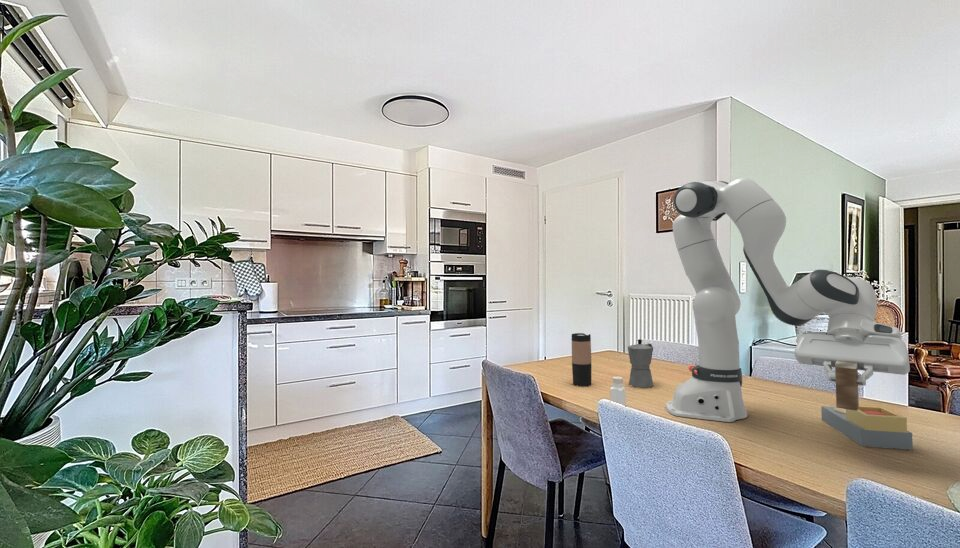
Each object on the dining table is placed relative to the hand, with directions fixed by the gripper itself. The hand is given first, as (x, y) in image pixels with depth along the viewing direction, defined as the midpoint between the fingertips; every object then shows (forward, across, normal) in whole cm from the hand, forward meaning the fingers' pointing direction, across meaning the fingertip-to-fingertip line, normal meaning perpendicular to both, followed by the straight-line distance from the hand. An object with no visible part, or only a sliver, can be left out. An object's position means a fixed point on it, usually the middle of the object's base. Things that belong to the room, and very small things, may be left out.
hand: (846, 381), depth 96 cm
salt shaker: (+11, -58, +15) cm, 61 cm away
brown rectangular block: (+4, 0, +5) cm, 6 cm away
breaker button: (-2, +3, +25) cm, 25 cm away
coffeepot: (-12, -65, +38) cm, 76 cm away
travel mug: (-2, -83, +27) cm, 88 cm away
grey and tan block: (-4, 0, +29) cm, 30 cm away
